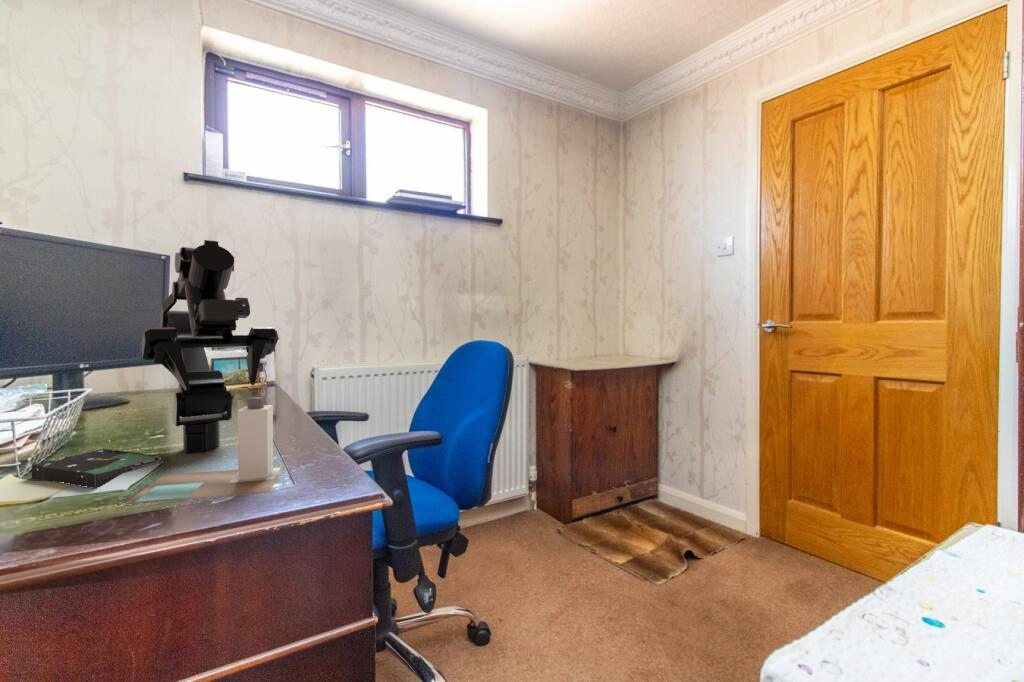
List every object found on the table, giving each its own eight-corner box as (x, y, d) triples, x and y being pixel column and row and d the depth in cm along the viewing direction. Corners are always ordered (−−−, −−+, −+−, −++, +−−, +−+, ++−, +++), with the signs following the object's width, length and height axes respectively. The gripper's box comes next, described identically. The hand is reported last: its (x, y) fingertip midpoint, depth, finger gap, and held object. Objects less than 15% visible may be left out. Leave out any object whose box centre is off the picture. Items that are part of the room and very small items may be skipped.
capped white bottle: (245, 471, 72) (244, 396, 72) (273, 469, 74) (272, 395, 73) (238, 479, 69) (237, 400, 68) (267, 477, 70) (267, 399, 69)
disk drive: (29, 482, 72) (96, 491, 68) (28, 464, 72) (95, 473, 68) (103, 463, 82) (166, 470, 78) (103, 447, 82) (165, 454, 78)
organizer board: (164, 482, 71) (164, 474, 71) (285, 473, 76) (285, 465, 75) (124, 513, 59) (123, 504, 59) (269, 500, 64) (269, 491, 64)
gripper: (143, 274, 68) (154, 365, 62) (277, 282, 81) (296, 358, 75) (137, 317, 75) (146, 402, 69) (262, 318, 88) (278, 389, 82)
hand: (222, 386), depth 74 cm, fingers open, 9 cm apart
